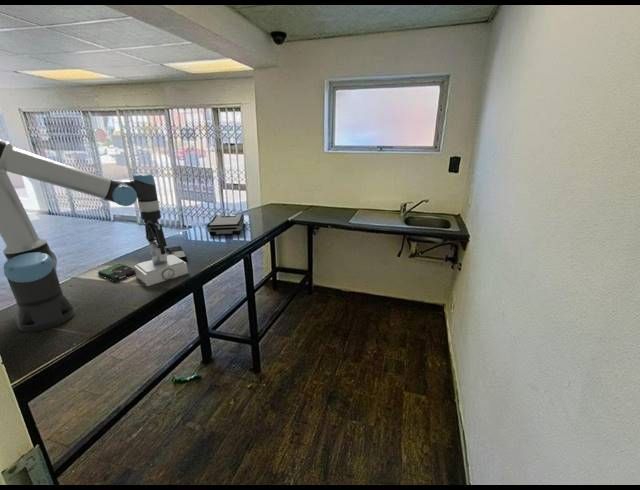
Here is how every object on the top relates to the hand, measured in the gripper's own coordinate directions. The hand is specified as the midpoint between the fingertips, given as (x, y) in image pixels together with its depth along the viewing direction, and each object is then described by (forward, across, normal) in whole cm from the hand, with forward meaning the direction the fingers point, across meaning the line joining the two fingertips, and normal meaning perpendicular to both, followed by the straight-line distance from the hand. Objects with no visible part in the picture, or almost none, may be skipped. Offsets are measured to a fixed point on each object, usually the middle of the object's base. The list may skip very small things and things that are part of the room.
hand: (159, 257), depth 136 cm
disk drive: (+10, +16, +14) cm, 23 cm away
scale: (+9, 0, 0) cm, 9 cm away
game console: (+9, +44, -62) cm, 77 cm away
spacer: (+3, 0, 0) cm, 3 cm away
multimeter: (+10, +18, -11) cm, 23 cm away
